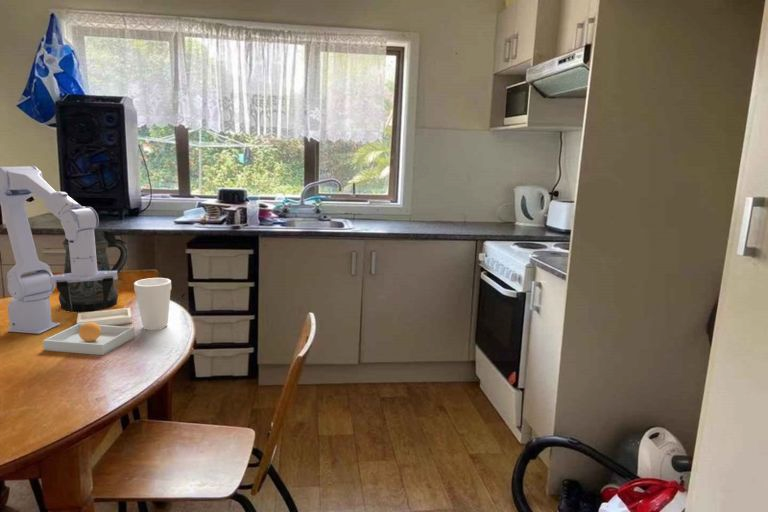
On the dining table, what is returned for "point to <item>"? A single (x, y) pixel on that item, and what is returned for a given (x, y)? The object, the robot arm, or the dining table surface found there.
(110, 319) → the dish
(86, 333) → the ball
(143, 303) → the foam cup
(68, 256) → the beer stein
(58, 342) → the tray
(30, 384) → the dining table surface
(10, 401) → the dining table surface
